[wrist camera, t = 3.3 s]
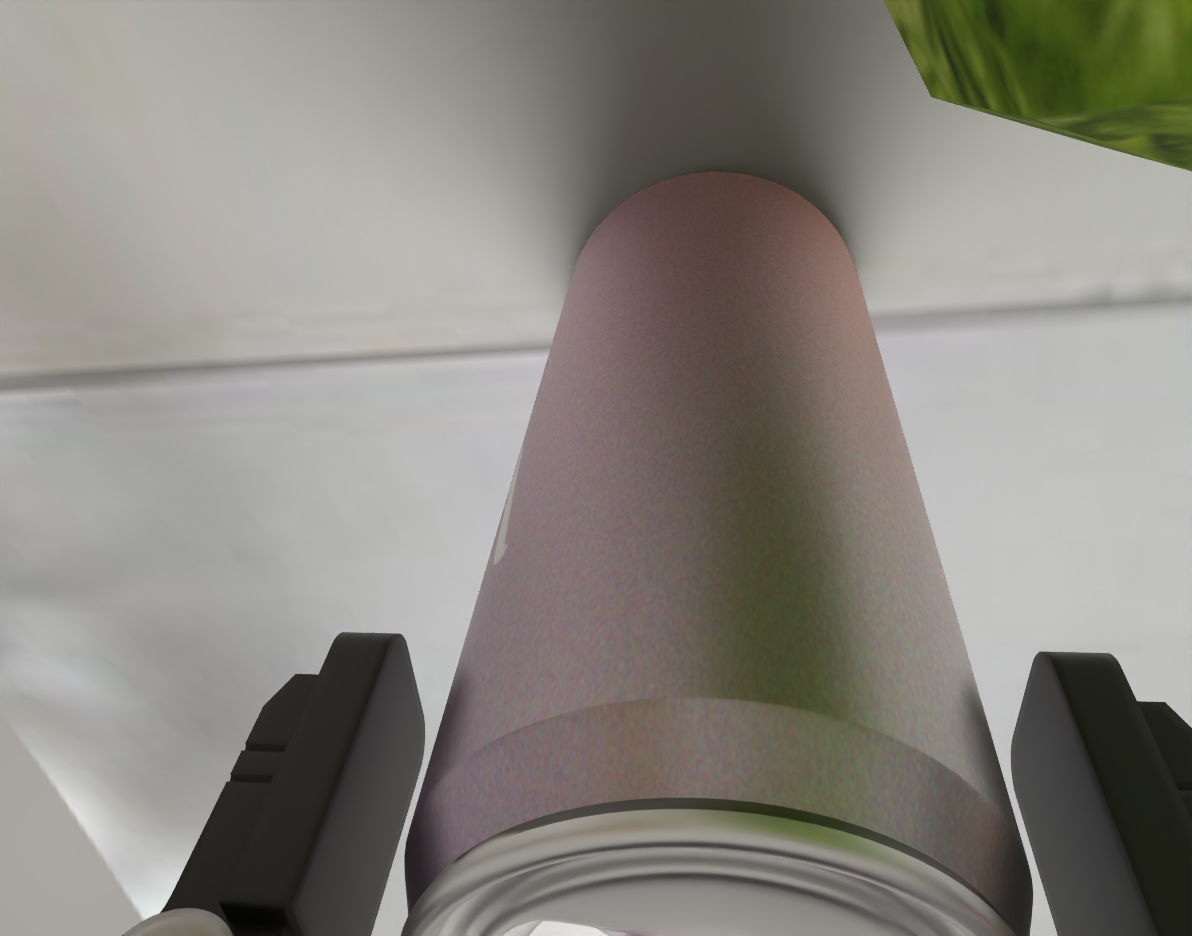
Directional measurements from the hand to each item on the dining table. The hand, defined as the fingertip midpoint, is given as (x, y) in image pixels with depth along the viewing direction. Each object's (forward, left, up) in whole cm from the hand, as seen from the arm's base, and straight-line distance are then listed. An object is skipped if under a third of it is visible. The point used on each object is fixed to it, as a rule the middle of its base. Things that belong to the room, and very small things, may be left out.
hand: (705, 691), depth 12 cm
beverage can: (0, 0, -11) cm, 11 cm away
